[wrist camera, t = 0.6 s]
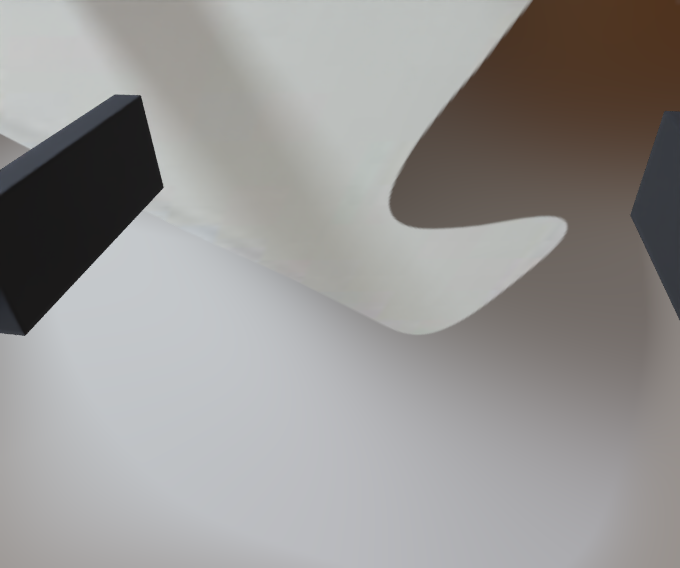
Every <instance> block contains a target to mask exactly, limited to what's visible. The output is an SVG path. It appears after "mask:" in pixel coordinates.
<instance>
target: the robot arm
mask: <svg viewBox="0 0 680 568" xmlns="http://www.w3.org/2000/svg"><path fill="white" fill-rule="evenodd" d="M163 188H164V187H163V183H162V179H161V175H160V171H159V167H158V163H157V159H156V155H155V151H154V147H153V143H152V139H151V135H150V131H149V127H148V123H147V119H146V115H145V111H144V107H143V103H142V99H141V95H114V96H112V97H110V98H109V99H107V100H106V101H104V102H103V103H101V104H100V105H98V106H97V107H95V108H94V109H92V110H91V111H89V112H88V113H86V114H85V115H83V116H81V117H80V118H78V119H77V120H75V121H74V122H72V123H71V124H69V125H68V126H66V127H65V128H63V129H62V130H60V131H59V132H57V133H55V134H54V135H52V136H51V137H49V138H48V139H46V140H45V141H43V142H42V143H40V144H39V145H37V146H36V147H34V148H33V149H31V150H30V151H28V152H26V153H25V154H23V155H22V156H21V157H19V158H17V159H16V160H14V161H13V162H11V163H10V164H8V165H7V166H5V167H4V168H2V169H1V170H0V333H4V334H14V335H23V336H25V335H26V334H27V333H28V332H29V331H30V330H31V329H32V328H33V327H34V325H35V324H36V323H37V322H38V321H39V320H40V319H41V318H42V317H43V316H44V315H45V314H46V313H47V312H48V311H49V310H50V308H51V307H52V306H53V305H54V304H55V303H56V302H57V301H58V300H59V299H60V298H61V297H62V296H63V295H64V293H65V292H66V291H67V290H68V289H69V288H70V287H71V286H72V285H73V284H74V283H75V282H76V281H77V280H78V278H80V276H81V275H82V274H83V273H84V272H85V271H86V270H87V269H88V268H89V267H90V266H91V264H93V263H94V261H95V260H96V259H97V258H98V257H99V256H100V255H101V254H102V253H103V252H104V251H105V250H106V249H107V248H108V247H109V245H110V244H111V243H112V242H113V241H114V240H115V239H116V238H117V237H118V236H119V235H120V234H121V233H122V232H123V230H124V229H125V228H126V227H127V226H128V225H129V224H130V223H131V222H132V221H133V220H134V219H135V218H136V216H138V215H139V213H140V212H141V211H142V210H143V209H144V208H145V207H146V206H147V205H148V204H149V203H150V202H151V201H152V200H153V198H154V197H155V196H156V195H157V194H158V193H159V192H160V191H161V190H162V189H163ZM631 217H632V220H633V222H634V224H635V226H636V228H637V230H638V232H639V235H640V237H641V238H642V241H643V243H644V245H645V247H646V249H647V252H648V254H649V256H650V258H651V260H652V262H653V264H654V266H655V269H656V271H657V273H658V275H659V277H660V279H661V281H662V283H663V286H664V288H665V290H666V292H667V294H668V296H669V298H670V300H671V303H672V305H673V307H674V309H675V311H676V313H677V316H678V318H679V320H680V112H673V111H665V112H664V114H663V118H662V121H661V124H660V127H659V130H658V133H657V136H656V139H655V142H654V145H653V148H652V151H651V154H650V157H649V160H648V163H647V167H646V169H645V172H644V175H643V178H642V181H641V184H640V187H639V191H638V193H637V196H636V200H635V203H634V206H633V209H632V212H631Z"/></svg>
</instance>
